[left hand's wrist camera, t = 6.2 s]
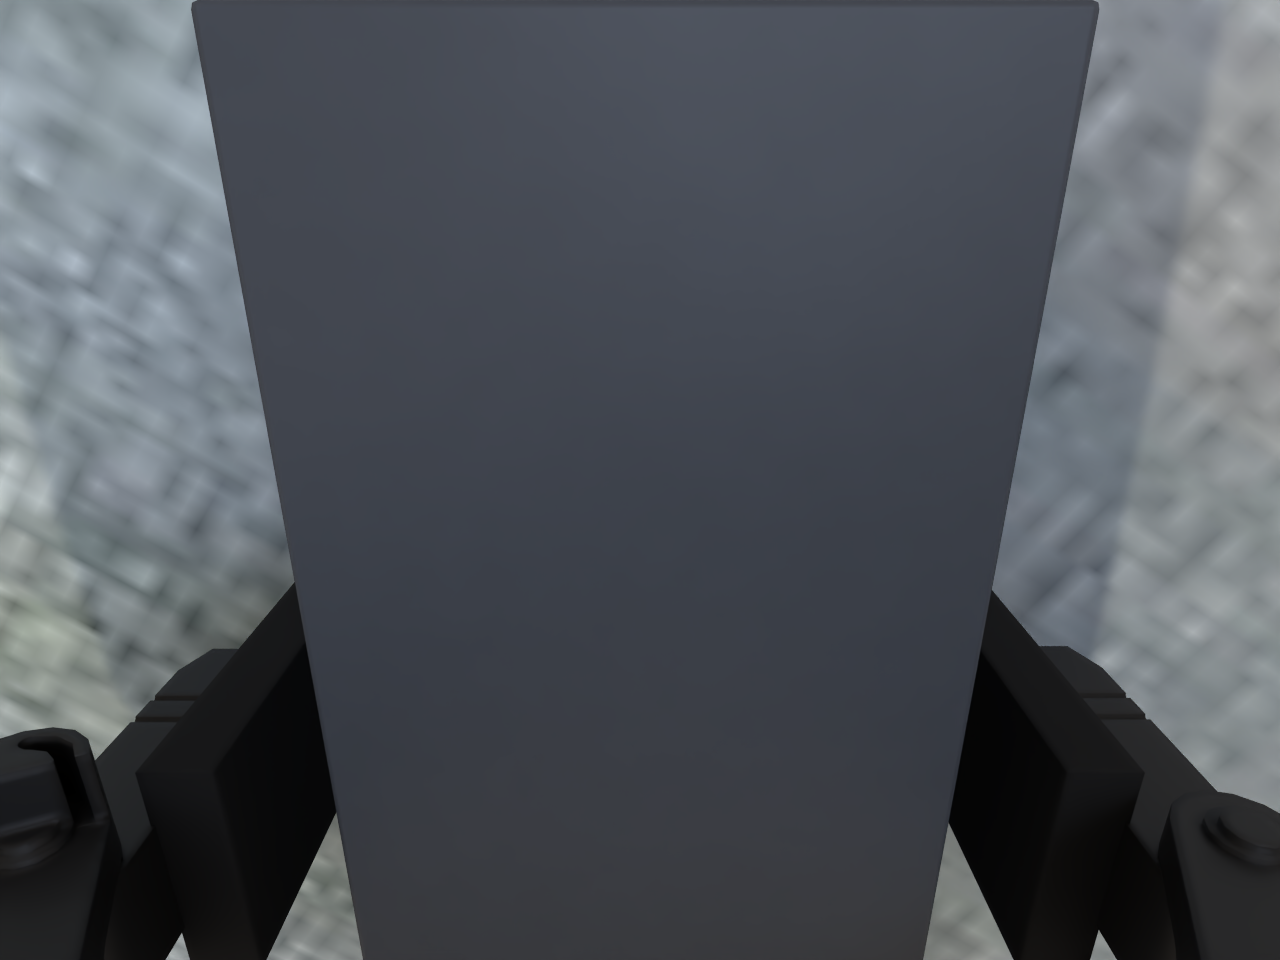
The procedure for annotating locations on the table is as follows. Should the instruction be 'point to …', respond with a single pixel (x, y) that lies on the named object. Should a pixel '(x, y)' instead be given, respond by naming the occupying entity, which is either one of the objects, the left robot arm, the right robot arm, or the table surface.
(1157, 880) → the left robot arm
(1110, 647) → the table surface
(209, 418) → the table surface
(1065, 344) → the table surface
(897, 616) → the beam
